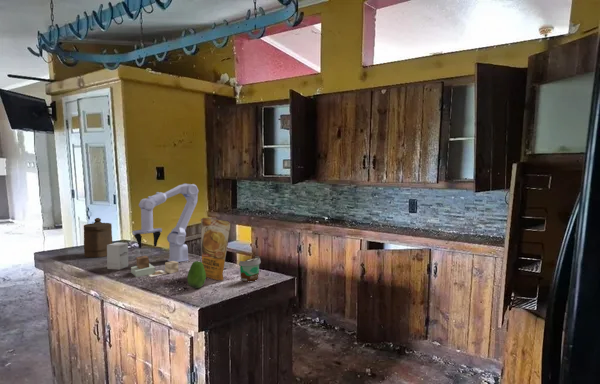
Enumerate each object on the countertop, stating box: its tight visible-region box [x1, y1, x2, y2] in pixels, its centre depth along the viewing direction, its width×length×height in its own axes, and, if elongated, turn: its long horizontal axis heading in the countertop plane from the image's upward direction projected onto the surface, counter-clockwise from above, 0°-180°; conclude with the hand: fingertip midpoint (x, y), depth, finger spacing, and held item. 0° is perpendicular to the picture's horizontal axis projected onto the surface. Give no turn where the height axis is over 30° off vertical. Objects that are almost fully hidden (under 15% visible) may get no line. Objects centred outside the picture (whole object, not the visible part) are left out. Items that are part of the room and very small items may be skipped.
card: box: [148, 269, 168, 278], centre depth 183 cm, size 8×8×1 cm
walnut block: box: [135, 255, 150, 269], centre depth 182 cm, size 4×4×5 cm
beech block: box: [164, 261, 179, 275], centre depth 185 cm, size 4×4×5 cm
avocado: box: [186, 260, 207, 289], centre depth 162 cm, size 8×8×12 cm
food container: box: [238, 255, 262, 283], centre depth 173 cm, size 12×6×10 cm, turn 148°
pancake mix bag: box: [200, 217, 232, 281], centre depth 177 cm, size 7×19×28 cm, turn 52°
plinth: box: [130, 262, 156, 278], centre depth 183 cm, size 9×9×3 cm
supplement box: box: [106, 242, 129, 271], centre depth 192 cm, size 7×7×13 cm
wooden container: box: [83, 217, 113, 259], centre depth 219 cm, size 15×15×22 cm
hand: (147, 246), depth 195 cm, fingers open, 7 cm apart
